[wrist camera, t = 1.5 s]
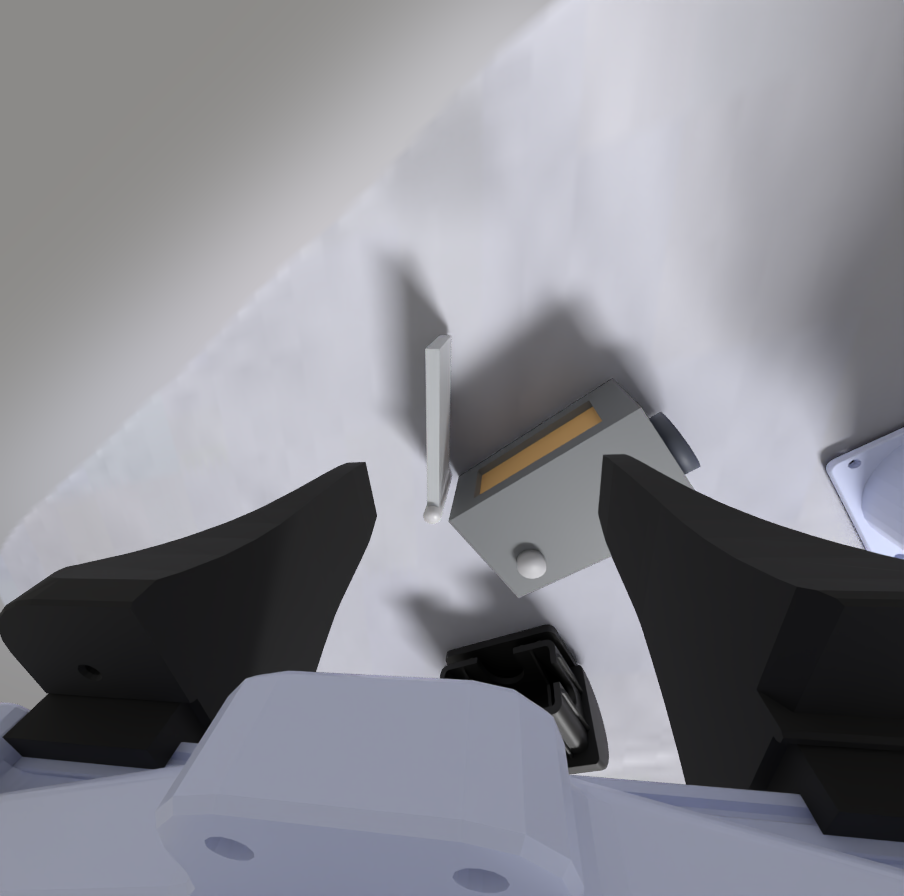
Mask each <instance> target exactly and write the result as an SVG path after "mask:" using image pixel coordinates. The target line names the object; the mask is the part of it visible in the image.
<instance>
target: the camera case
mask: <svg viewBox="0 0 904 896" xmlns="http://www.w3.org/2000/svg"><path fill="white" fill-rule="evenodd" d="M607 454H627V455H629V456H631V457H633V458H635V459H637V460H639V461H641V462H643V463H645V464H647V465H648V466H650V467H652V468H654V469H655V470H657V471H659V472H661V473H663V474H664V475H666V476H668V477H670V478H672V479H674V480H675V481H677V482H679V483H681V484H683V485H685V486H687V487H689V488H691V489H693V490H694V488H693V487H692V485H691V484H690V482H689V481H688V479H687V477H686V476H685V474H687V473H689V472H691V471H693V470H695V469H697V468H699V467H700V463H699V461H698V459H697V458H696V456H695V454H694V453H693V451H692V449H691V448H690V446H689V445H688V444H687V442H686V441H685V439H684V438H683V437H682V435H681V434H680V433H679V431H678V430H677V429H676V427H675V426H674V425H673V424H672V423H671V421H670V420H669V419H668V418H667V417H666V416H665V415H664V414H663V413H661V412H659V413H658V414H656V415H654V416H652V417H651V418H648V417H647V415H646V414H645V412H644V411H643V409H642V408H641V407H640V405H639V404H638V403H637V402H636V401H635V400H634V399H633V398H632V397H631V396H630V395H629V394H628V393H627V392H626V391H625V390H624V389H623V388H622V387H621V386H620V385H619V384H618V383H617V382H616V381H615V380H614V379H613V378H612V379H611V380H609V381H608V382H606V383H604V384H603V385H601V386H600V387H598V388H597V389H595V390H594V391H592V392H590V393H589V394H587V395H586V396H584V397H583V398H581V399H579V400H578V401H576V402H575V403H573V404H572V405H570V406H569V407H567V408H565V409H564V410H562V411H561V412H559V413H558V414H556V415H554V416H553V417H551V418H550V419H548V420H547V421H545V422H544V423H542V424H540V425H539V426H537V427H536V428H534V429H533V430H531V431H530V432H528V433H526V434H525V435H523V436H522V437H520V438H519V439H517V440H515V441H514V442H512V443H511V444H509V445H508V446H506V447H505V448H503V449H501V450H500V451H498V452H497V453H495V454H494V455H492V456H490V457H489V458H487V459H486V460H484V461H483V462H481V463H480V464H478V465H476V466H475V467H473V468H472V469H470V470H469V471H467V472H465V473H464V474H462V475H461V476H459V479H458V483H457V487H456V491H455V496H454V500H453V504H452V509H451V513H450V517H449V523H450V524H451V525H452V526H453V527H454V528H455V529H456V530H457V531H458V532H459V534H460V535H461V536H462V537H463V538H464V539H465V540H466V541H467V542H468V543H469V545H470V546H471V547H472V548H473V549H474V550H475V551H476V552H477V553H478V554H479V555H480V557H481V558H482V559H483V560H484V561H485V562H486V563H487V564H488V565H489V566H490V568H491V569H492V570H493V571H494V572H495V573H496V574H497V575H498V576H499V577H500V579H501V580H502V581H503V582H504V583H505V584H506V585H507V586H508V587H509V588H510V589H511V591H512V592H513V593H514V594H515V595H516V596H517V597H518V598H521V597H523V596H525V595H527V594H529V593H532V592H534V591H536V590H538V589H540V588H543V587H545V586H547V585H549V584H551V583H554V582H556V581H558V580H560V579H562V578H565V577H567V576H569V575H571V574H573V573H576V572H578V571H580V570H582V569H584V568H587V567H589V566H591V565H593V564H595V563H598V562H600V561H602V560H604V559H606V558H609V557H611V554H610V551H609V549H608V547H607V544H606V542H605V538H604V535H603V531H602V527H601V524H600V520H599V516H598V506H599V495H600V483H601V472H602V460H603V455H607Z"/></svg>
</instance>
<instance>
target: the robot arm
mask: <svg viewBox="0 0 904 896" xmlns="http://www.w3.org/2000/svg"><path fill="white" fill-rule="evenodd" d="M852 460H854V461H853V463H851V464H849V463H850V462H851V461H852ZM848 464H849V465H848ZM826 471H827V473H828V475H829V477H830V479H831V481H832V483H833V485H834V487H835V489H836V491H837V493H838V495H839V497H840V499H841V500H842V502H843V504H844V506H845V508H846V510H847V512H848V514H849V516H850V518H851V520H852V522H853V524H854V526H855V528H856V530H857V532H858V534H859V536H860V538H861V540H862V542H863V544H864V546H865V548H866V550H863V549H859V548H855V547H851V546H847V545H843V544H839V543H836V542H832V541H829V540H825V539H822V538H818V537H815V536H811V535H808V534H805V533H802V532H799V531H796V530H793V529H789V528H786V527H783V526H780V525H777V524H774V523H771V522H769V521H766V520H763V519H760V518H757V517H755V516H752V515H750V514H747V513H745V512H742V511H740V510H737V509H735V508H732V507H730V506H727V505H725V504H723V503H720V502H718V501H716V500H714V499H712V498H710V497H707V496H705V495H703V494H701V493H699V492H697V491H695V490H693V489H691V488H689V487H687V486H685V485H683V484H681V483H679V482H677V481H675V480H674V479H672V478H670V477H668V476H666V475H664V474H663V473H661V472H659V471H657V470H655V469H654V468H652V467H650V466H648V465H647V464H645V463H643V462H641V461H639V460H637V459H635V458H633V457H631V456H629V455H627V454H607V455H603V460H602V472H601V483H600V495H599V506H598V516H599V520H600V524H601V527H602V531H603V535H604V538H605V542H606V544H607V547H608V549H609V551H610V554H611V556H612V558H613V561H614V563H615V565H616V568H617V570H618V572H619V574H620V577H621V579H622V581H623V583H624V586H625V588H626V590H627V592H628V595H629V597H630V599H631V602H632V604H633V606H634V608H635V611H636V614H637V616H638V619H639V621H640V624H641V627H642V630H643V633H644V636H645V640H646V643H647V646H648V649H649V652H650V655H651V659H652V662H653V665H654V669H655V672H656V675H657V679H658V682H659V686H660V689H661V692H662V696H663V699H664V703H665V706H666V710H667V714H668V717H669V721H670V725H671V728H672V732H673V736H674V739H675V743H676V747H677V750H678V754H679V758H680V762H681V766H682V770H683V774H684V778H685V782H686V785H684V784H672V783H660V782H649V781H637V780H625V779H613V778H601V777H589V776H578V775H569V772H568V765H567V758H566V751H565V744H564V741H563V739H562V736H561V734H560V732H559V729H558V727H557V724H556V722H555V719H554V717H553V716H552V715H551V714H549V713H548V712H547V711H546V710H544V709H543V708H541V707H540V706H538V705H537V704H535V703H534V702H532V701H531V700H529V699H528V698H526V697H525V696H523V695H522V694H520V693H519V692H517V691H516V690H514V689H510V688H506V687H501V686H496V685H492V684H487V683H483V682H478V681H474V680H459V679H439V678H420V677H401V676H382V675H362V674H343V673H324V672H316V670H317V667H318V664H319V661H320V658H321V654H322V651H323V648H324V645H325V642H326V640H327V637H328V634H329V631H330V628H331V625H332V622H333V620H334V617H335V614H336V612H337V610H338V607H339V605H340V603H341V600H342V598H343V596H344V594H345V592H346V590H347V588H348V586H349V584H350V582H351V580H352V577H353V575H354V573H355V571H356V569H357V567H358V565H359V563H360V561H361V559H362V556H363V554H364V552H365V550H366V548H367V546H368V543H369V541H370V538H371V535H372V531H373V528H374V525H375V521H376V517H377V514H376V509H375V504H374V499H373V495H372V490H371V485H370V481H369V476H368V471H367V467H366V462H355V463H345V464H343V465H340V466H338V467H336V468H334V469H332V470H330V471H329V472H327V473H325V474H323V475H321V476H320V477H318V478H316V479H314V480H312V481H311V482H309V483H307V484H305V485H304V486H302V487H300V488H298V489H296V490H294V491H293V492H291V493H289V494H287V495H285V496H283V497H281V498H279V499H277V500H275V501H273V502H271V503H269V504H268V505H266V506H263V507H261V508H259V509H257V510H255V511H253V512H251V513H248V514H246V515H243V516H241V517H239V518H236V519H234V520H232V521H229V522H227V523H224V524H221V525H219V526H216V527H213V528H210V529H207V530H204V531H202V532H199V533H196V534H193V535H190V536H188V537H184V538H181V539H178V540H175V541H171V542H168V543H165V544H161V545H158V546H154V547H150V548H147V549H143V550H140V551H136V552H132V553H128V554H124V555H119V556H115V557H110V558H106V559H101V560H97V561H92V562H88V563H83V564H79V565H74V566H69V567H65V568H63V569H60V570H58V571H56V572H54V573H53V574H51V575H50V576H48V577H47V578H45V579H44V580H43V581H41V582H40V583H38V584H37V585H35V586H34V587H32V588H31V589H29V590H28V591H26V592H25V593H23V594H22V595H21V596H19V597H18V598H16V599H15V600H13V601H12V602H10V603H9V604H7V605H6V606H5V607H4V609H3V610H2V612H1V613H0V635H1V637H2V640H3V642H4V643H5V645H6V646H7V647H8V649H9V650H10V652H11V653H12V654H13V655H14V657H15V658H16V659H17V660H18V661H19V662H20V664H21V665H22V666H23V667H24V668H25V669H26V670H27V671H28V673H29V674H30V675H31V676H32V677H33V678H34V680H36V682H37V683H38V684H39V685H40V686H41V688H42V689H43V690H44V691H45V692H46V693H49V694H48V695H47V696H46V697H45V698H44V699H42V700H41V701H40V702H39V703H38V704H37V705H36V706H35V707H34V708H33V709H32V710H31V711H30V710H29V709H27V708H25V707H23V706H21V705H18V704H13V703H4V702H0V896H904V427H903V428H901V429H899V430H897V431H894V432H892V433H890V434H888V435H886V436H883V437H881V438H879V439H877V440H874V441H872V442H870V443H868V444H866V445H863V446H861V447H859V448H857V449H855V450H852V451H850V452H848V453H846V454H843V455H841V456H839V457H837V458H835V459H833V460H831V461H830V462H829V463H828V464H827V466H826Z"/></svg>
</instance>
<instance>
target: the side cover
mask: <svg viewBox="0 0 904 896" xmlns="http://www.w3.org/2000/svg"><path fill="white" fill-rule="evenodd" d="M425 365H426V440H427V506H426V509H425V512H424V515H423V517H424V520H425V521H426V522H427V523H429V524H437V523H439V522H440V520H441V517H442V513H443V510H444V506H445V502H446V498H447V494H448V491H449V487H450V483H451V479H452V474H451V472H450V471H449V458H450V396H451V335H439V336H438V337H437V338H436V339H435V340H434V341H433V342H432V343H431V344H430V345H429V346H428V347H427V348H426V349H425Z"/></svg>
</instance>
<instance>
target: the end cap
mask: <svg viewBox="0 0 904 896" xmlns="http://www.w3.org/2000/svg"><path fill="white" fill-rule="evenodd" d="M446 662H447V664H448V665H447V666H445V667H444V668H443V669H442V671H441V674H440V679H459V680H474V681H478V682H483V683H487V684H492V685H496V686H501V687H506V688H510V689H514V690H516V691H517V692H519V693H520V694H522V695H523V696H525V697H526V698H528V699H529V700H531V701H532V702H534V703H535V704H537V705H538V706H540V707H541V708H543V709H544V710H546V711H547V712H548V713H549V714H551V715H552V716H553V717H554V719H555V722H556V724H557V727H558V729H559V732H560V734H561V736H562V739H563V741H564V744H565V751H566V758H567V765H568V772H569V774H577V773H584V772H592V771H600V770H604V769H606V768H607V765H608V761H609V751H608V743H607V737H606V732H605V728H604V724H603V720H602V716H601V713H600V710H599V706H598V703H597V700H596V697H595V695H594V692H593V689H592V687H591V684H590V682H589V680H588V678H587V676H586V674H585V672H584V670H583V668H582V667H581V666H580V665H577V664H576V662H575V660H574V658H573V656H572V655H571V653H570V652H569V650H568V648H567V647H566V645H565V643H564V642H563V640H562V639H561V637H560V635H559V634H558V632H557V631H556V629H555V628H554V627H553V626H551V625H543V626H539V627H535V628H532V629H528V630H524V631H521V632H517V633H513V634H509V635H506V636H502V637H498V638H495V639H491V640H487V641H483V642H480V643H476V644H472V645H469V646H465V647H461V648H457V649H454V650H450V651H449V652H447V656H446Z"/></svg>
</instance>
